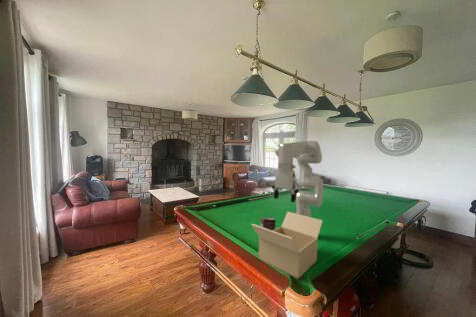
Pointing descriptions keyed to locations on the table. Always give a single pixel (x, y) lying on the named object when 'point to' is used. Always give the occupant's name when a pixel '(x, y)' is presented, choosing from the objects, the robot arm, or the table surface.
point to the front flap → (275, 238)
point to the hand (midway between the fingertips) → (284, 200)
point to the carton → (290, 253)
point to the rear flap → (302, 224)
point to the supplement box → (267, 223)
